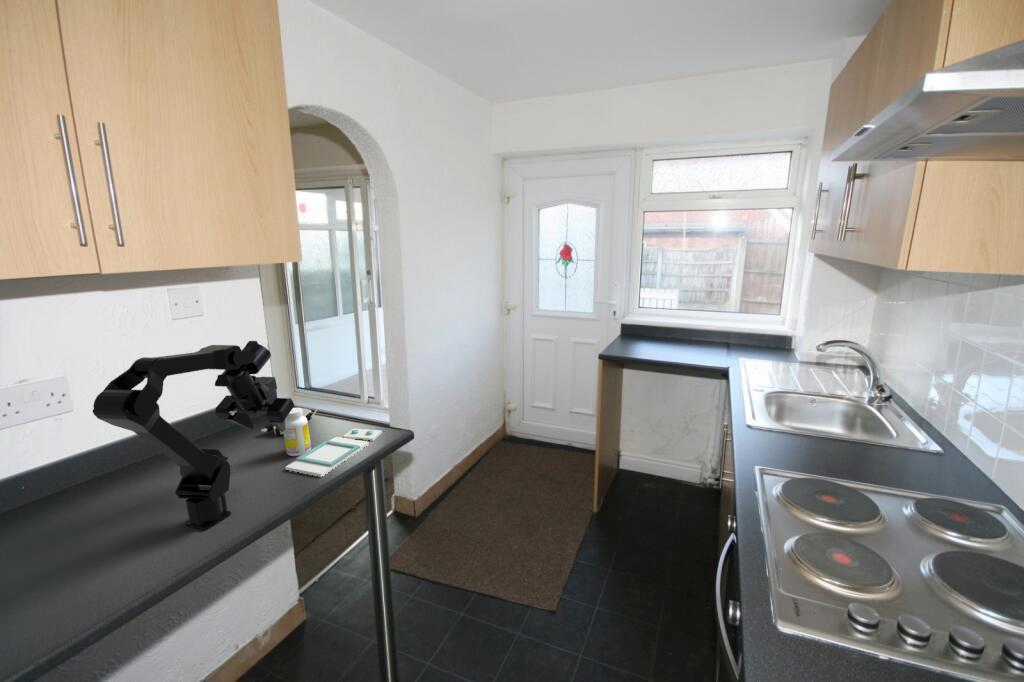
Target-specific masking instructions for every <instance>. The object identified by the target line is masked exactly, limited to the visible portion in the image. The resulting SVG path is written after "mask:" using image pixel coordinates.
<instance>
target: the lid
mask: <svg viewBox="0 0 1024 682" xmlns="http://www.w3.org/2000/svg"><path fill="white" fill-rule="evenodd" d="M382 431H383V430H380V429H379V430H378V429H364V428H351V429H350V430H349V431H348V432H347V433H345V434H344V435H343V436H342V438H343V437H346V438H355V439H363V440H362V441H368V440H370V442H371V441H374V440H376V439H377V438H378V437H379V436H380V435H381V434H382V433H383V432H382ZM355 439H354V440H355Z"/></svg>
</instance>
